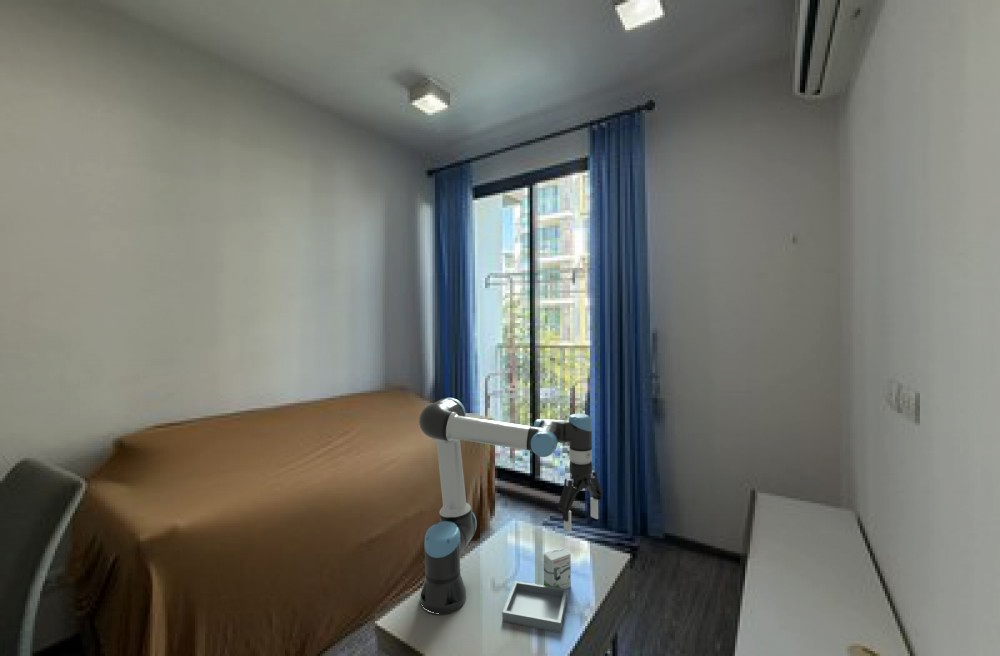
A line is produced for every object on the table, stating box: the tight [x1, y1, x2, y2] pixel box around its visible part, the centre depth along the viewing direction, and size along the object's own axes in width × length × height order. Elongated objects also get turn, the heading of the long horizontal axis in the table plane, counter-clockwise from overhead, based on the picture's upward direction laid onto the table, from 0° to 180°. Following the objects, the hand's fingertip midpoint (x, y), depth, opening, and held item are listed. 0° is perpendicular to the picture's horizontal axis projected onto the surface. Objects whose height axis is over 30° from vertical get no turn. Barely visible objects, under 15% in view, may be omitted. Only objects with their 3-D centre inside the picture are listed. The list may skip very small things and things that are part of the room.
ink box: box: [543, 547, 572, 590], centre depth 142 cm, size 9×5×12 cm, turn 119°
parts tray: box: [501, 580, 568, 634], centre depth 131 cm, size 18×16×3 cm
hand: (581, 523), depth 137 cm, fingers open, 13 cm apart
